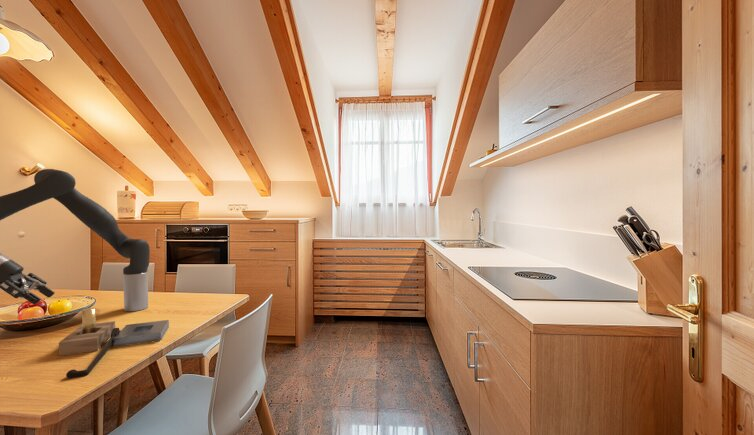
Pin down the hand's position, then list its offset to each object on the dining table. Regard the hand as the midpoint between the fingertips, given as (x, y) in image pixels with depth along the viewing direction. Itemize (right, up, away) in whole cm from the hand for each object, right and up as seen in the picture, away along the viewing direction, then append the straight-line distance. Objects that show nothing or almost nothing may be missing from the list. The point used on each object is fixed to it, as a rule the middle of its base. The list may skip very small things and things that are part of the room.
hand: (45, 298), depth 110 cm
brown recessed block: (+10, -17, +5) cm, 21 cm away
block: (+25, -17, +11) cm, 33 cm away
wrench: (+21, -18, -4) cm, 28 cm away
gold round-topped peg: (+10, -15, +5) cm, 19 cm away
